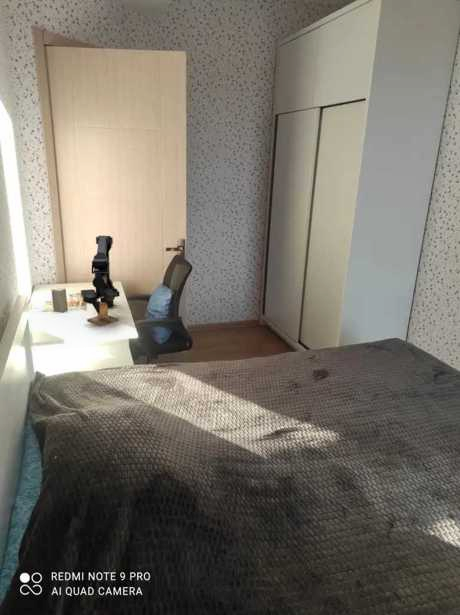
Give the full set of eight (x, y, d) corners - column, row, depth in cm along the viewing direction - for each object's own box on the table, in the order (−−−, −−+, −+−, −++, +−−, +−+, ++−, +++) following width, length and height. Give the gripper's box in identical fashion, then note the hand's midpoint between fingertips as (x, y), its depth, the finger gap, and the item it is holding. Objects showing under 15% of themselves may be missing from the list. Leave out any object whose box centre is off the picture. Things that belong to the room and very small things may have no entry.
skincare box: (68, 310, 248) (66, 288, 245) (63, 312, 244) (61, 290, 241) (57, 308, 250) (56, 287, 246) (52, 310, 246) (51, 289, 242)
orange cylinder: (103, 312, 238) (102, 301, 236) (109, 315, 235) (109, 303, 233) (95, 315, 234) (95, 304, 232) (102, 317, 231) (101, 306, 229)
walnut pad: (104, 315, 242) (104, 313, 242) (118, 320, 236) (118, 318, 236) (87, 321, 234) (87, 319, 234) (101, 326, 228) (101, 324, 228)
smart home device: (83, 299, 263) (80, 289, 281) (83, 302, 264) (80, 292, 281) (98, 298, 266) (94, 289, 284) (98, 301, 267) (94, 291, 284)
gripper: (96, 289, 217) (97, 320, 222) (126, 282, 232) (127, 311, 237) (81, 285, 223) (83, 315, 228) (111, 278, 238) (112, 306, 243)
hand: (102, 312), depth 234 cm, fingers closed on orange cylinder, 5 cm apart
